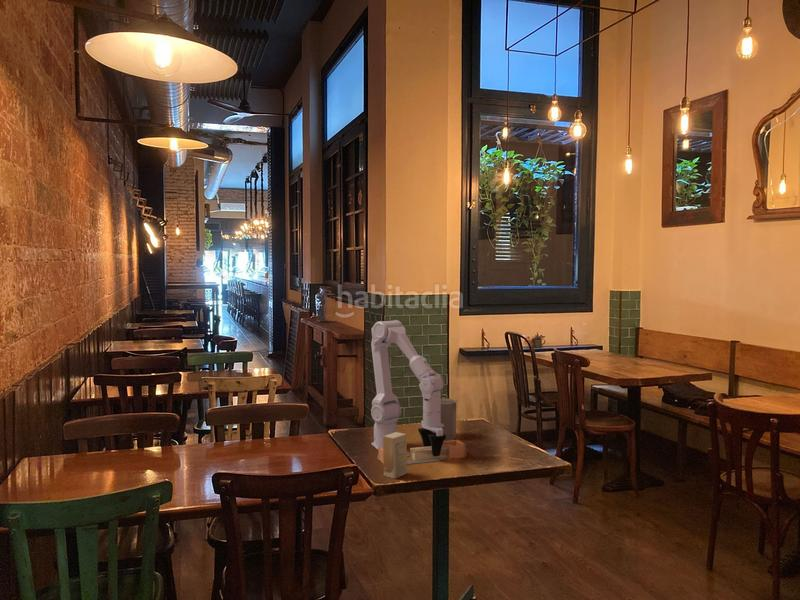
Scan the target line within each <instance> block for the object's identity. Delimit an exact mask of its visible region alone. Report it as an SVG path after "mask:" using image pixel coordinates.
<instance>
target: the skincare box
mask: <svg viewBox="0 0 800 600" xmlns="http://www.w3.org/2000/svg"><path fill="white" fill-rule="evenodd" d="M407 445H408V444H407V433H403V432H398V431H397V432H394V433H391V434H388V435H385V436H383V462H384V464H383V477H385V476H386V478H389V477H390V478H389V479H393V478H394V480H395V479H398V478H400V477H402V476H404V475H407V474H408V464H407V461H408V459H407V458H408V456H407V453H408V450H407Z"/></svg>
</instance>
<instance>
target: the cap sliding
mask: <svg viewBox="0 0 800 600" xmlns="http://www.w3.org/2000/svg"><path fill="white" fill-rule="evenodd" d="M377 451H378V452H377V456H378V459H377V460H378V461H379V460H380V461H381V462H382V463H383V464H382V463H381V462H380V461H379V462H380V463H381V464H382V465H384V462H383V447H378V449H377Z"/></svg>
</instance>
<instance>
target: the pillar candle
mask: <svg viewBox="0 0 800 600" xmlns="http://www.w3.org/2000/svg"><path fill="white" fill-rule="evenodd" d="M441 424H444V427H442V429H443V434H445V435H446V438H445V440H447V441H451V440H452V439H453V440H456V439H457V399H453V398H447V397H445V396H442V398H441Z"/></svg>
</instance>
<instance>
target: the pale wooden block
mask: <svg viewBox="0 0 800 600" xmlns="http://www.w3.org/2000/svg"><path fill="white" fill-rule="evenodd" d="M448 446H452V445H442V448H441V452H440V456H433V454H432V447H431V446H428V447H424V446H420V447H410V448H409V449H410V452H409V453H411V456H410V459H411V458H412V459H411V460H412V461H413V460H423V459H433V458H443V457H448Z"/></svg>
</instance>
